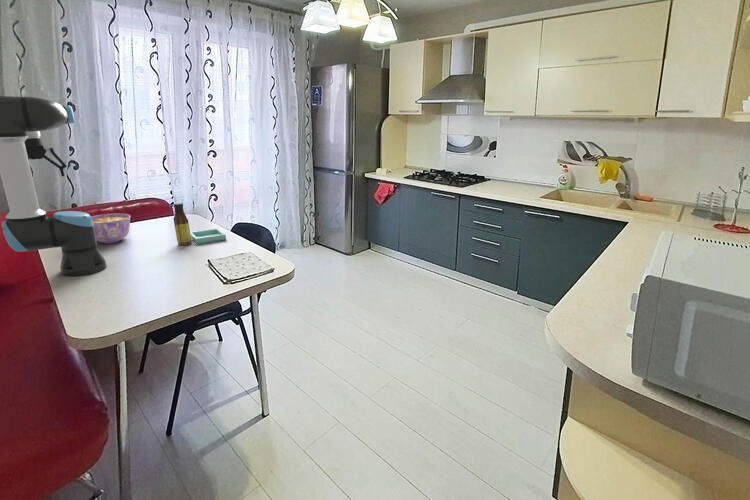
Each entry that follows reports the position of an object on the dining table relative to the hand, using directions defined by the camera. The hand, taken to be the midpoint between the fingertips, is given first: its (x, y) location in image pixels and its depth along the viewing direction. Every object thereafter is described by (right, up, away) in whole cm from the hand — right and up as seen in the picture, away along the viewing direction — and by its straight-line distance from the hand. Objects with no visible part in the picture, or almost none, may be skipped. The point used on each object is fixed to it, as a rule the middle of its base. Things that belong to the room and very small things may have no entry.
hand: (44, 185), depth 194 cm
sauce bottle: (+60, -27, +9) cm, 66 cm away
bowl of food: (+22, -25, +13) cm, 36 cm away
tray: (+68, -24, +17) cm, 74 cm away
